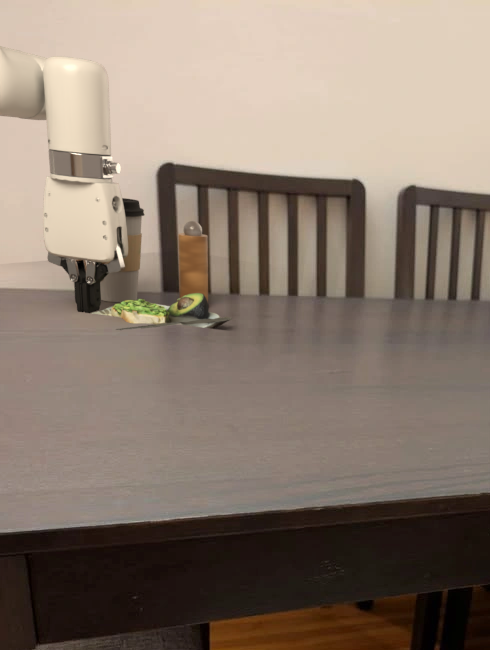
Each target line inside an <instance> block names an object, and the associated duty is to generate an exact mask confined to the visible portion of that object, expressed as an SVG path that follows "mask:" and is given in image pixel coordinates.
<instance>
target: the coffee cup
mask: <svg viewBox="0 0 490 650" xmlns="http://www.w3.org/2000/svg"><path fill="white" fill-rule="evenodd" d="M122 200H123V205H124V210H125V217H126V226H127V236H128V255H127V257H125V258H123V260H124V264H125V269H124V270H123V271H119V272H113V273H109V274H108V275H107V276H106V277H105V278H104V280H103V281H102V282H100V289H101V301H103V302H109V303H121V302H122V301H125V300H138V291H139V290H138V289H139V275H140V274H139V272H140V269H141V255H142V237H143V236H142V235H143V233H142V221H143V220H142V218H143V217H144V216H145V212H144V211H145V209H144V208H142V207H141V206H140V201H139V200H138V199H132V198H125V197H122ZM106 263H110V262H106Z"/></svg>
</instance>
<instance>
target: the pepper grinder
mask: <svg viewBox="0 0 490 650" xmlns="http://www.w3.org/2000/svg"><path fill="white" fill-rule="evenodd" d="M177 243H178V245H177V246H178V248H177V249H178V250H177V251H178V287H179V289H178V290H179V291H178V292H179V294H178V295H179V296H178V297H179V298H182V297H183V296H185V295H188V294H192V293H201V294H204V296H205V297H206V299H207V302H208V303H209V236H208V235H207V234H203V227H202V226H201V224H200V223H199V222H197V221H195V220H189V221H187V222H186V223H185V224H184V226H183V232H180V233H178V234H177Z"/></svg>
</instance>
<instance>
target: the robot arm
mask: <svg viewBox="0 0 490 650" xmlns="http://www.w3.org/2000/svg"><path fill="white" fill-rule="evenodd" d="M109 81H110V80H109V75H108V71H107V69H106V67H104V65H102V63H99V62H98V61H94V60H90V59H85V58H79V57H71V56H65V55H64V56H62V55H57V56H50V57H45V56H40V55H38V54H34V53H28V52H25V51H21V50H18V49H15V48H10V47H6V46H1V45H0V117H10V118H18V119H22V120H32V121H46V132H47V134H46V135H47V146H48V147H47V148H48V162H49V176H47V175H46V179H45V182H44V188H43V189H44V191H43V203H42V229H43V230H42V233H43V242H44V247H45V250H46V251H47V257H46V258H47V261H48V262H49V263H51V264H54V265H56V266H58V267H61V268H62V269H63V270H64V271H65V272H66V274H67V275H68V277H69V280H70V281H71V282H72V283H73V286H74V302H75V304H76V310H77V311H76V312H78V313H85V314H92V313H94V312H98V311H100V306H101V304H102V300H101V289H100V282H102V281H103V280H104V278H105V277H106V276H107V275H108V274H109V273H113V272H119V271H123V270H124V269H125V264H124V260H123V258H125V257H127V255H128V236H127V226H126V217H125V210H124V205H123V200H122V198H123V196H122V191H121V188H120V187H121V186H120V184H119V182H113V179H114V175H120V174H121V171H122V167H121V164H120V163H119V162H115V161H114V160H113V159H114V157H113V156H112V137H111V135H112V134H111V109H110V106H111V105H110V83H109ZM106 262H110V263H106Z"/></svg>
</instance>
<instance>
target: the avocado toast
mask: <svg viewBox="0 0 490 650" xmlns="http://www.w3.org/2000/svg"><path fill="white" fill-rule="evenodd" d="M209 308H210V307H209V301H208V302H207V299H206V297H205V296H204V294H201V293H192V294H188V295H185V296H183V297H182V298H180V297H179V298H177V299H176V301H175V302H173V303H172V304H170V305H165V304H158V303H153V302H150V301H146V299H144V298H137V300H125V301H122V302H119V303H115V304H114V305H111V306H109V307H107V308H104V309H102V310H98V311H95V312H92V313H91V314H93V315H102V316H108V317H116V318H121V319H122V320H124V321H125V322H126V323H129V324H147V325H139V326H131V327H122V328H116V329H115V331H123V330H134V329H141V330H142V329H151V328H159V327H169V326H178V325H179V326H187V327H195V328H201V329H202V328H203V329H213V330H214V329H217V328H218V327H220V326H222V325H223V324H225V323H228V322H229V321H231V320H232V318H233V317H230V316H223V317H221V316H220V315H219V314H217V312H211V311H209V310H210V309H209Z"/></svg>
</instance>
